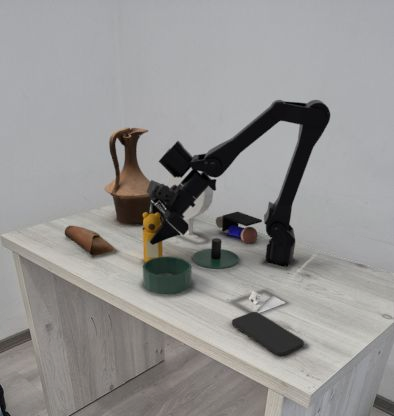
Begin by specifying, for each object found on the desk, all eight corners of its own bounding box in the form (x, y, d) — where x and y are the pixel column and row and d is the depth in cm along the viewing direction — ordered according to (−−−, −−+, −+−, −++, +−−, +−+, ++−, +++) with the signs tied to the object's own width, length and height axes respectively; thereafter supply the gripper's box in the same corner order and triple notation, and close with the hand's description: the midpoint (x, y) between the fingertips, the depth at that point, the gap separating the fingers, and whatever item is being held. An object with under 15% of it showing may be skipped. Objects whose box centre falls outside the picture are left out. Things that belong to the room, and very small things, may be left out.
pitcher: (135, 233, 142) (130, 134, 126) (95, 222, 149) (85, 127, 133) (169, 218, 154) (168, 126, 138) (130, 208, 161) (124, 120, 145)
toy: (144, 257, 126) (142, 209, 119) (162, 257, 126) (161, 209, 119) (143, 265, 122) (141, 215, 114) (162, 265, 122) (161, 216, 114)
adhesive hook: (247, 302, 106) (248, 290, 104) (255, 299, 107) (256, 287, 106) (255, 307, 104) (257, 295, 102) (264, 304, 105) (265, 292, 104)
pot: (199, 281, 115) (200, 263, 112) (174, 300, 106) (174, 280, 104) (161, 270, 119) (161, 253, 117) (134, 287, 111) (133, 268, 108)
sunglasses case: (118, 249, 129) (105, 232, 124) (100, 266, 128) (86, 249, 123) (90, 231, 141) (77, 214, 136) (73, 246, 140) (60, 230, 135)
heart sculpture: (212, 241, 137) (215, 179, 127) (201, 245, 134) (202, 182, 124) (177, 227, 146) (177, 168, 136) (165, 231, 143) (164, 171, 133)
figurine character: (214, 237, 144) (245, 247, 133) (213, 213, 140) (246, 221, 129) (230, 233, 147) (262, 242, 136) (230, 209, 143) (263, 217, 133)
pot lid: (246, 258, 127) (248, 237, 124) (225, 275, 118) (226, 252, 115) (207, 249, 132) (207, 228, 129) (183, 263, 123) (183, 242, 120)
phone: (280, 354, 88) (229, 320, 97) (279, 357, 88) (229, 323, 98) (306, 342, 91) (255, 310, 101) (305, 345, 92) (254, 313, 101)
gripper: (157, 160, 119) (118, 206, 123) (175, 178, 105) (130, 229, 108) (186, 189, 126) (148, 232, 129) (207, 210, 111) (163, 257, 114)
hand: (147, 237), depth 120 cm, fingers open, 9 cm apart
